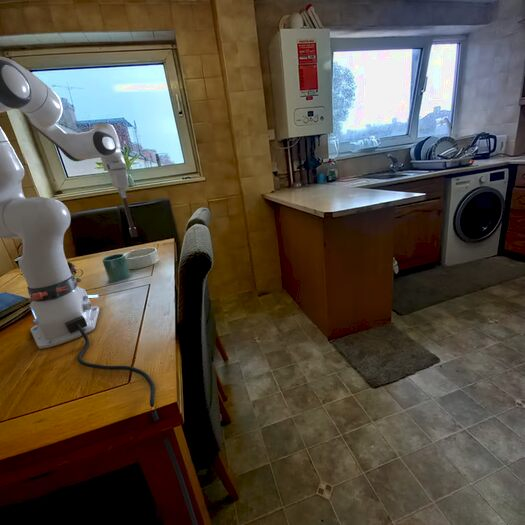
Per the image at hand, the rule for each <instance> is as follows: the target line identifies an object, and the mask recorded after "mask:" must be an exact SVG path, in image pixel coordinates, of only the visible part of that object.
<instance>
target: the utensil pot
mask: <svg viewBox="0 0 525 525" xmlns="http://www.w3.org/2000/svg"><path fill="white" fill-rule="evenodd" d="M124 254H125V253H115V254H111V255H107V256H105V257H103V258H102V259H101V261H102V264H103V267H104V270H105V274H106V276H107V279H108V281H109V283H118V282H121V281H125V280H126V279H128V278H130V277H131V271H130V269H129V268H128V264H127V261H126V258H125V255H124Z"/></svg>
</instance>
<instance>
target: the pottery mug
mask: <svg viewBox="0 0 525 525" xmlns="http://www.w3.org/2000/svg"><path fill="white" fill-rule="evenodd" d="M67 263H68V266H69V269H70V272H71V274H73V273H75V274H76V273H77V269H76V268H75V267H76V265H75V264H73V263H72V262H70V261H67Z"/></svg>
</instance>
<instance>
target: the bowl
mask: <svg viewBox="0 0 525 525" xmlns="http://www.w3.org/2000/svg"><path fill="white" fill-rule="evenodd" d="M123 254H124V255H125V258H126V261H127V264H128V268H129V270H137V269H143V268H147V267H150V266H153V265H155V264H156V263H158V262H159V261H160V256H159V252H158V249H157V248H156V247H151V246H149V247H141V248H137V249H133V250H129V251H126V252H125V253H123Z"/></svg>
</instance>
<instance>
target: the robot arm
mask: <svg viewBox="0 0 525 525" xmlns="http://www.w3.org/2000/svg"><path fill="white" fill-rule="evenodd" d="M11 110H19V111H20V112H21V113H23V114H24V115H25V118H26V120H27V121H28V123H29V124H30V126H32V127H33V128H34V129H35V130H36V131H37V132H38V133H39V134H41V135H42V136H43V137H45V139H47V140H48V141H50V142H51V143H52V144H53V145H55V146H56V147H57V148H58V149H59V150H60V152H62V154H63V155H64V156H65V157H66V158H68V159H69V160H70V161H72V162H82V161H86V160H92V159H98V158H100V162H101V163H102V167H103V170H104V171H106V172H107V173H108V175H109V176H110V181H111V186H112V187H113V188H116V189H117V192H118V194H119V197H120V198H121V197H122V198H126V199H127V194H126V188H129V184H130V183H129V178H128V173H127V164H126V160H125V157H124V154H123V152H122V146H121V142H120V139H119V136H118V134H117V131H116V129H115V127H114V126H113V125H112V124H110V123H107V122H97V123H94V124H93V125H92V127H93V128H92V129H90V130H89V131H83V132H76V133H70V132H65V131H64V130H63V129H62V128H61V127H60V126H58V124H56V123H58V122H59V120H60V119H61V117H62V114H63V104H62V101H61V99H60V97H59V95H57V93H56V92H55V91H54V89H52V88H51V87H50V86H49V85H47V84H46V83H45V82H44V81H43V80H41V79H40V78H39V77H38V76H36V75H35V74H34V73H33V72H31V71H30V70H28V69H27V68H26V67H23V66H22V65H20V64H19V63H18V62H16V61H15V60H13V59H11V58H8V57H5V56H0V114H1V113H5V112H9V111H11ZM25 173H26V171H25V168H24V166H23V164H22V162H21V161H20V159H19V157H18V155H17V153H16V152H15V149H14V147H13V146H12V144H11V143H10V141H9V139H8V137H7V135H6V133H5V132H4V131H3V128H2V127H1V126H0V239H1V238H2V239H7V240H12V239H20V240H21V242H22V243H21V244H22V255H21V256H20V257H19V259H18V262H17V263H18V267H19V269H20V271H21V273H22V276H23V278H24V280H25V283H26V284H27V293H28V295H29V297H30V300H31V302H30V304H28V306H29V308H30V310H31V313H32V315H33V317H34V319H33V320H32V323H33V325H34V326H32V327H30V333H31V335H32V337H33V340H34V342H35V344H36V346H37V348H38V349H39V350H43V349H48V348H53V347H56V346H60V345H63V344H65V343H68V342H70V341H71V342H72V341H73V340H75V339H78V338H81V337H83V339H84V341H85V345H84V347H83V349H82V350H81V351H80V353H79V354H78V356H77V361H78V363H79V364H80V365H82V366H83V367H86V368H92V369H98V370H99V369H100V370H106V371H107V370H108V371H109V370H112V371H113V370H114V371H115V370H116V371H117V370H119V371H120V370H123V371H124V370H125V371H129V372H133V373H136V374H138V375H140V376H141V377H143V378H144V379H145V380H146V382H147V383H148V385H149V387H150V395H149V396H150V397H149V407H150V406H151V407H153V406H154V402H155V397H156V386H155V385H156V384H155V383H154V381H153V379H152V377H151V376H150V375H148V373H146V372H145V371H143V370H142V369H139V368H137V367H134V366H130V365H104V364H97V363H90V362H87V361H85V360H84V359H83V356H84V354H86V352H87V350H88V349H89V346H90V339H89V336H88V333H89V334H90V333H91V332H92V331H94V330H95V329H96V326H97V322H98V317H99V313H100V310H101V308H100V307H99V306H98V305H94V306H93V305H92V303H91V301H90V298H92V299H93V298H99V294H91V295H88V293H87V291H86V289H85V288H82V287H80V286H78V283H77V278H76V277H75V276H74V274H73V273H72V274H71V272H70V269H69V266H68V263H67V262H68V260H67V258H66V255H65V250H64V238H65V234H66V231H67V230H68V229H69V228H70V225H71V220H72V218H71V213H70V210H69V209H68V207H67V205H65V203H63V202H62V201H61V200H58V199H55V198H51V197H43V196H31V197H25V194H24V190H23V186H22V185H23V184H22V183H23V179H24V177H25ZM119 190H120V191H119ZM120 192H121V194H120ZM122 198H121V199H122ZM154 386H155V387H154ZM150 413H151V417H152V420H153V421H154V422H157V421H158V420H159V415H158V413H157V409H156V408H155V412H151V411H150ZM163 443H164V445H165V448H166V450H167V452H168V455H169V458H170V461H171V464H172V465H173V466H172V467H173V468H174V471H175V474H176V477H177V480H178V482H179V486H180V489H181V491H182V494H183V498H184V501H185V504H186V507H187V510H188V513H189V514H188V515H189V517H190V520H191V523H192V525H199V524H198V521H197V518H196V515H195V512H194V509H193V505H192V503H191V499H190V496H189V492H188V489H187V486H186V483H185V480H184V477H183V474H182V470H181V468H180V465H179V462H178V460H177V457H176V454H175V453H174V449H173V447H172V444H171V441H170V439H169V437H167V438H166V439H163Z"/></svg>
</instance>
